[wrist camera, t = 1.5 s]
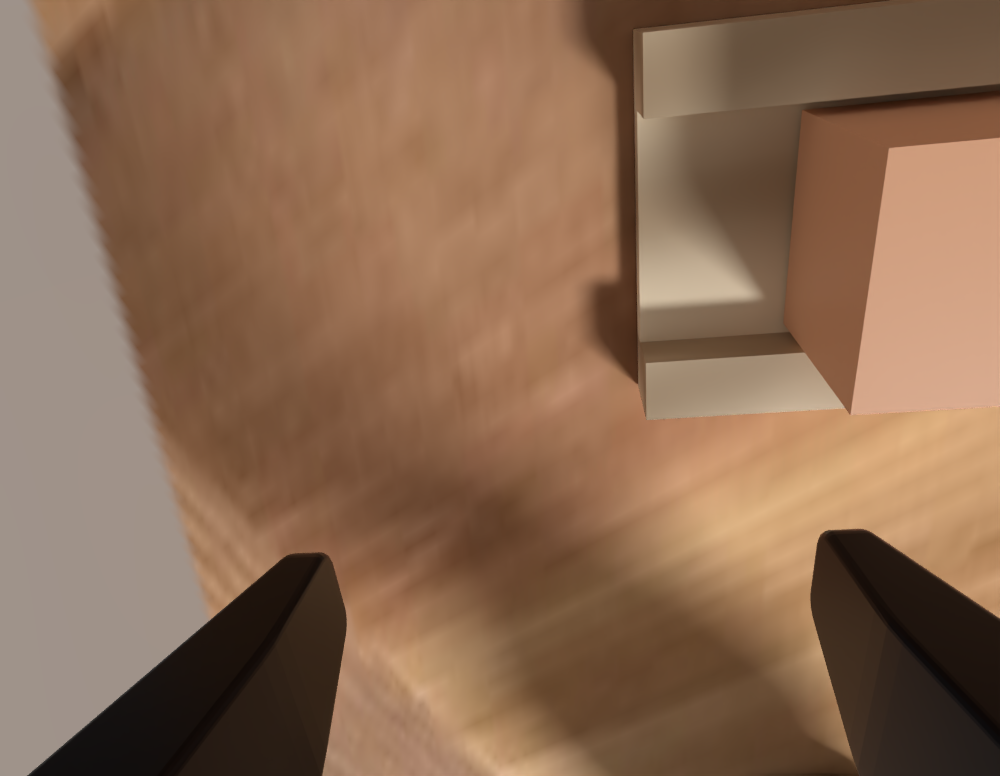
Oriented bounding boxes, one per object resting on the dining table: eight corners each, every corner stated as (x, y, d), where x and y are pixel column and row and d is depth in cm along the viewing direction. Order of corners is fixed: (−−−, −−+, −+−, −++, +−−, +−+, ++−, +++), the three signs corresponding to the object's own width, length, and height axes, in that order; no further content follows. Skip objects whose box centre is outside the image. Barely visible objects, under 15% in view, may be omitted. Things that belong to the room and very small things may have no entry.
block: (996, 308, 17) (1129, 399, 13) (782, 323, 18) (850, 414, 14) (1049, 86, 15) (1227, 117, 11) (801, 109, 16) (888, 148, 12)
